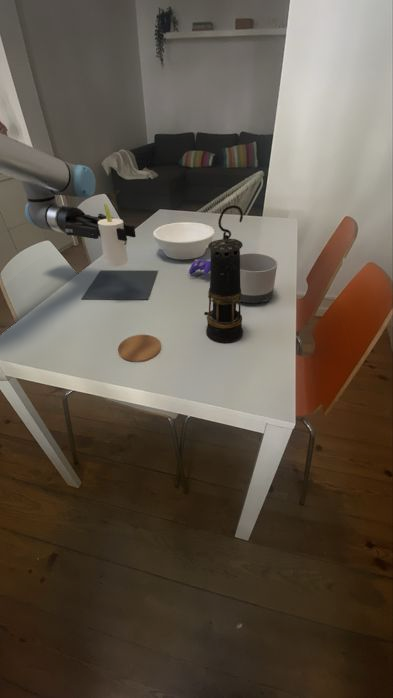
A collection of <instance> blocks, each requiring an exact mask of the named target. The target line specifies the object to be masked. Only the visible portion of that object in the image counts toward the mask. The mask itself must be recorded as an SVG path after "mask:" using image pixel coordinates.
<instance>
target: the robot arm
mask: <svg viewBox="0 0 393 698" xmlns="http://www.w3.org/2000/svg"><path fill="white" fill-rule="evenodd" d="M0 175H2V176H5V177H8V178H12V179H16V180H18V181H21V184H22V187H23V190H24V192H25V196H26V199H27V203H26V205H25V206H24V216H25V219H26V220H27V221H28V223H30V224H31V225H33V226H35V227H37V228H39V229H43V230H50V231H54V232H57V233H62V234H63V235H66V236H73V237H81V238H88V239H94V240H97V239H99V238H100V231H99V227H98V221H100V220H102V219H107V218H106V214H103V213H98V214H97V216H93V215H90V214H85V212H84V211H83V210H82V209H81V208H78V207H75V206H71V205H70V206H69V205H65V204H60V203H57V198H56V196H64V197H65V196H67V197H76V198H78V199H79V198H90V197H92V196H93V195H94V193H95V191H96V184H97V181H96V176H95V174H94V172H93V171H92V169H91V168H90V167H88V166H87V165H81V164H72V163H69V162H67V161H65V160H62V159H59V158H58V157H55V156H53V155H51V154H48V153H46V152H44V151H42V150H40V149H37V148H36V147H33V146H30V145H28V144H26V143H24V142H21V141H19V140H17V139H15V138H13V137H11V136H8V135H6V134H4V133H1V132H0ZM115 218H116V217H115ZM116 219H118V218H116ZM123 225H124V229H121V228H117V229H116V230H117V237H118V240H122V241H128V237H129V238H136V237H137V236H136V229H135V225H132V224H127V223H123Z"/></svg>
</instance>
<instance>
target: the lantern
mask: <svg viewBox="0 0 393 698" xmlns="http://www.w3.org/2000/svg"><path fill="white" fill-rule="evenodd" d="M231 209H236V210H238V212H239V214H240V216H239V223H242V221H243V219H244V214H243V213H244V212H243V210H242V209H241V207H240V206H238V205H233V204H232V205H229V206H226V207H225V208H224V209H223V210H222V211H221V213H220V215H219V218H218V227H219V229H220V230H221V231H222V232H223V233H222V238H221V239H215V240H212V242H211V243H210V244H209V245H208V247H207V248H208V249H209V250H210V259H211V266H210V272H209V288H208V291H207V298H208V311H205V312H204V313H203V315H204V316H206V321H207V327H206V330H205V334H206V336H207V338H208V339H209V340H210V341H212V342H214V343H218V344H233V343H236V342H238V341H239V340H241V339H242V338H243V335H244V329H243V327H242V326H243V325H242V323H243V316H242V314H241V301H240V299H241V288H240V254H241V251H240V250H241V249H242V248H243V242H242V240H239V239H236V238H231V237H232V232H231V230H229V229H227V228H223V226H222V219H223V217H224V214H225V213H226V212H227V211H228V210H231ZM237 302H238V310H237ZM211 307H212V309H211Z"/></svg>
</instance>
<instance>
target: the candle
mask: <svg viewBox="0 0 393 698" xmlns="http://www.w3.org/2000/svg"><path fill="white" fill-rule="evenodd" d="M103 207H104V213H105V216H106V218H107V219H102V220H100V221H98V227H99V231H100V237H99V238H100V244H101V249H102V256H103V261H104V265H107V266H109V267H119V266H123V265H125V264H127V263H128V262H129V259H128V251H127V250H128V249H127V241H128V240H127V241H122V240H118V237H117V230H116V229H117V228H121V229H124V225H123V224H124V220H123V219H121V218H117V219H116V217H113V216H112V214H111V210H110V208H109V206H108V204H107V203H106V202H104V203H103Z"/></svg>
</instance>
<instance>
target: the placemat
mask: <svg viewBox="0 0 393 698" xmlns="http://www.w3.org/2000/svg"><path fill="white" fill-rule="evenodd" d="M158 272H159V270H150V269H149V270H144V269H143V270H141V269H139V270H136V269H135V270H131V269H129V270H127V269H126V270H125V269H124V270H123V269H122V270H120V269H119V270H117V269H116V270H115V269H113V270H111V269H109V270H108V269H107V270H106V269H105V270H104V269H102V270H100V271H98V273H97V275H96V276H95V277H94V279H93V280H92V282H91V283H90V285H89V286H88V288H87V289H86V291H85V292H84V294H83V295H82V296H81V298H80V300H82V301H86V300H88V301H90V300H91V301H94V300H95V301H149V299H150V295H151V293H152V290H153V287H154V284H155V281H156V279H157V275H158Z"/></svg>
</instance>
